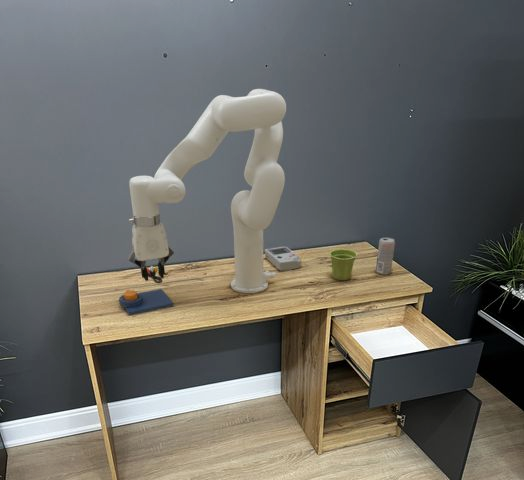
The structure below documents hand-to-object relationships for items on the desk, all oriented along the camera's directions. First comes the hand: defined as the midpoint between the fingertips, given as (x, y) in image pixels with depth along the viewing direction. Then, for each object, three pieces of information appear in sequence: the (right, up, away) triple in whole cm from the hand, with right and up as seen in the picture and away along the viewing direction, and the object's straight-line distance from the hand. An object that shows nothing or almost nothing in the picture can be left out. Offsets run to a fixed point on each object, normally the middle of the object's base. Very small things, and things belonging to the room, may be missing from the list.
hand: (153, 277), depth 160 cm
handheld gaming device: (+42, +10, +32) cm, 53 cm away
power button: (-7, -7, 0) cm, 10 cm away
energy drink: (+77, +5, +24) cm, 81 cm away
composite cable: (0, 0, 0) cm, 1 cm away
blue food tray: (-3, -8, +3) cm, 9 cm away
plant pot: (+62, +3, +20) cm, 65 cm away
